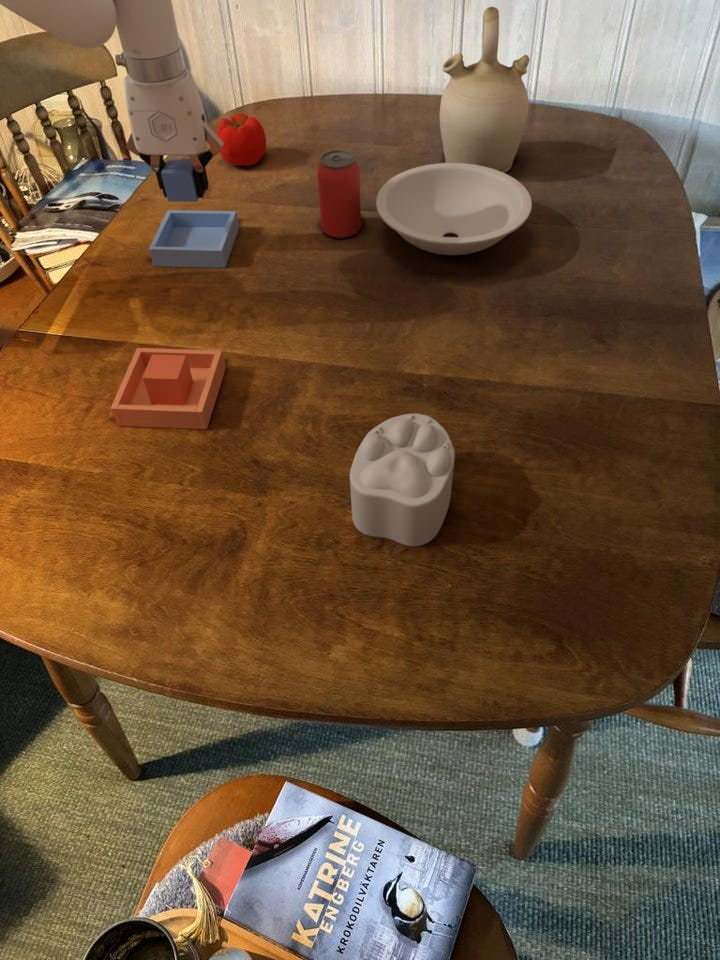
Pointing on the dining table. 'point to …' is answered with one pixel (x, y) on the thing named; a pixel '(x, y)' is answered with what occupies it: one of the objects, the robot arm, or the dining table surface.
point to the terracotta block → (168, 379)
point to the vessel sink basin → (453, 207)
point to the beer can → (339, 193)
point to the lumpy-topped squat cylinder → (402, 480)
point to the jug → (484, 105)
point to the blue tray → (194, 239)
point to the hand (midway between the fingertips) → (185, 192)
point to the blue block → (179, 180)
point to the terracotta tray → (139, 411)
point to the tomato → (242, 140)
